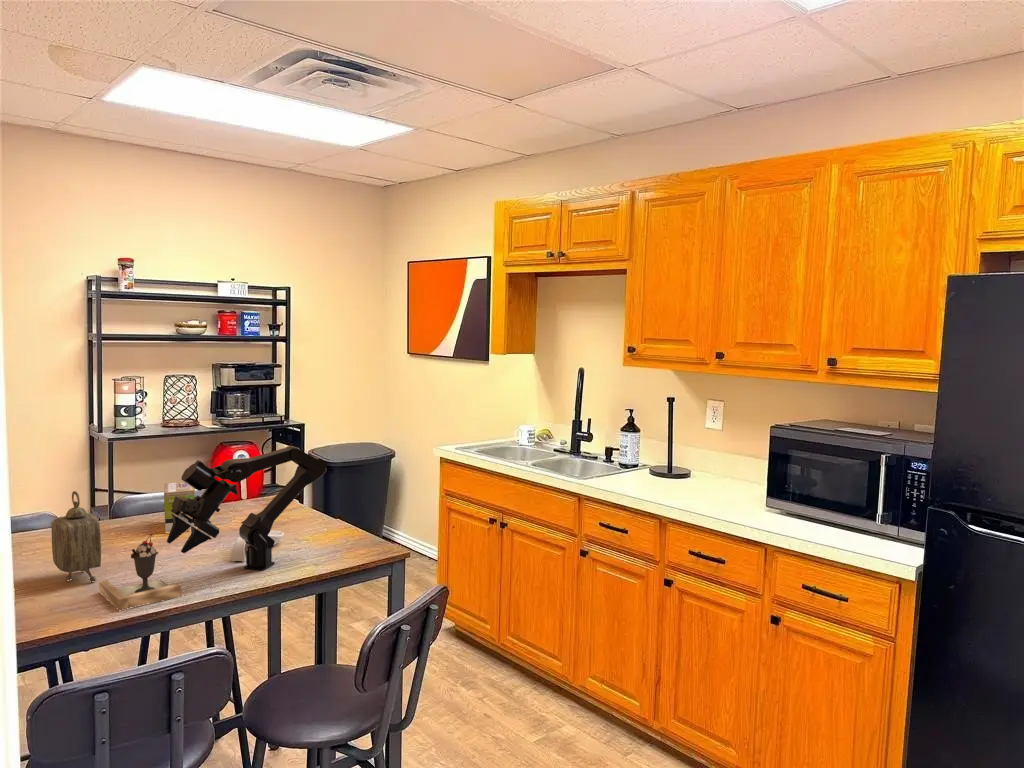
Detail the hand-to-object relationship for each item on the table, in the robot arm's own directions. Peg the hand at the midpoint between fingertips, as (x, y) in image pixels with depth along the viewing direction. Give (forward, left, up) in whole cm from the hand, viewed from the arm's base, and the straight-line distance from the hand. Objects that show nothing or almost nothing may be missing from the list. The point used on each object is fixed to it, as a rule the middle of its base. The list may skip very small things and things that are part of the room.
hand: (175, 547), depth 199 cm
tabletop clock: (+29, +4, -11) cm, 31 cm away
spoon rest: (-4, -33, -11) cm, 35 cm away
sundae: (+4, +7, -10) cm, 13 cm away
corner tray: (+4, +9, -10) cm, 14 cm away
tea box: (+37, -49, -11) cm, 62 cm away
